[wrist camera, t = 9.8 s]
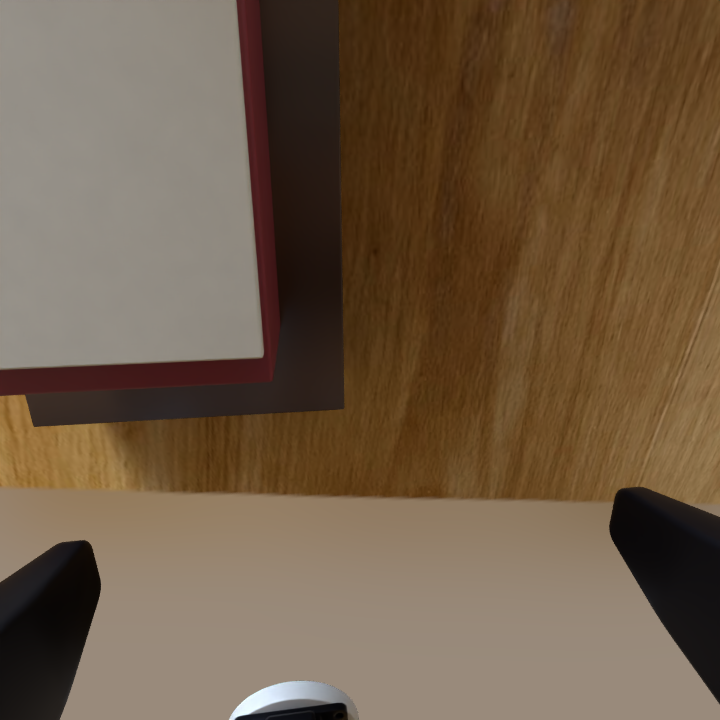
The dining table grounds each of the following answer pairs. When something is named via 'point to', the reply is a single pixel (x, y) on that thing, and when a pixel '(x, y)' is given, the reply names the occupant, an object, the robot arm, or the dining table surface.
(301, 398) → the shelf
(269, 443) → the dining table surface
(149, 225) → the red white box
